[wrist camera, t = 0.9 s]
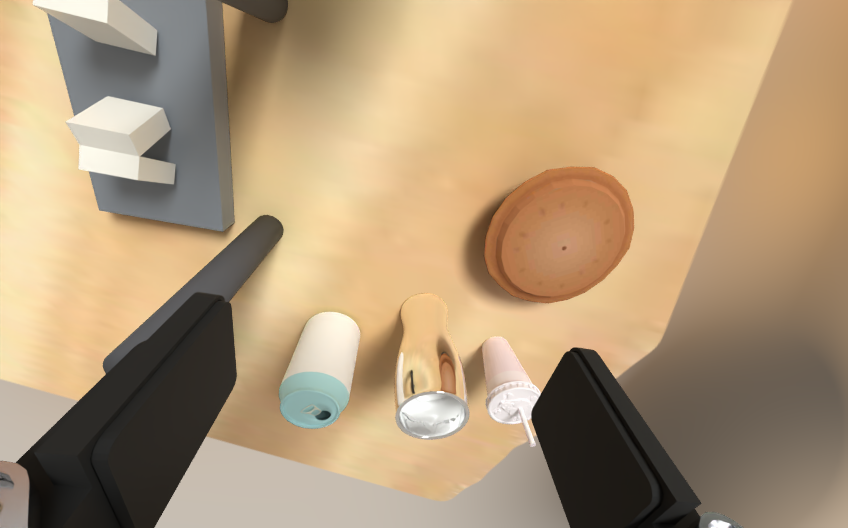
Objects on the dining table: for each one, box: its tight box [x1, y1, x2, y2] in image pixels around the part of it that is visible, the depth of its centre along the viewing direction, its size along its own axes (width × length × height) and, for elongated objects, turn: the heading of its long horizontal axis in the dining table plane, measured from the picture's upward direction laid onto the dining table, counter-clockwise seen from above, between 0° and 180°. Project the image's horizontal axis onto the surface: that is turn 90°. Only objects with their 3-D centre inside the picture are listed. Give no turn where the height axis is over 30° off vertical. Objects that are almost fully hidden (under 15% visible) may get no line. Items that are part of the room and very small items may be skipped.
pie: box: [484, 167, 634, 303], centre depth 35 cm, size 15×16×5 cm
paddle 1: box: [33, 0, 157, 56], centre depth 22 cm, size 2×4×4 cm, turn 78°
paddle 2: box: [79, 145, 176, 184], centre depth 27 cm, size 2×4×4 cm, turn 78°
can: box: [279, 312, 360, 429], centre depth 37 cm, size 7×7×12 cm
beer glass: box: [394, 293, 469, 440], centre depth 35 cm, size 7×7×15 cm
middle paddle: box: [66, 96, 171, 156], centre depth 25 cm, size 2×4×4 cm, turn 77°
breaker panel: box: [47, 0, 235, 232], centre depth 28 cm, size 20×11×2 cm, turn 167°
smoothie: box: [482, 336, 541, 447], centre depth 39 cm, size 6×6×14 cm
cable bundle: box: [103, 215, 283, 374], centre depth 26 cm, size 3×3×20 cm
